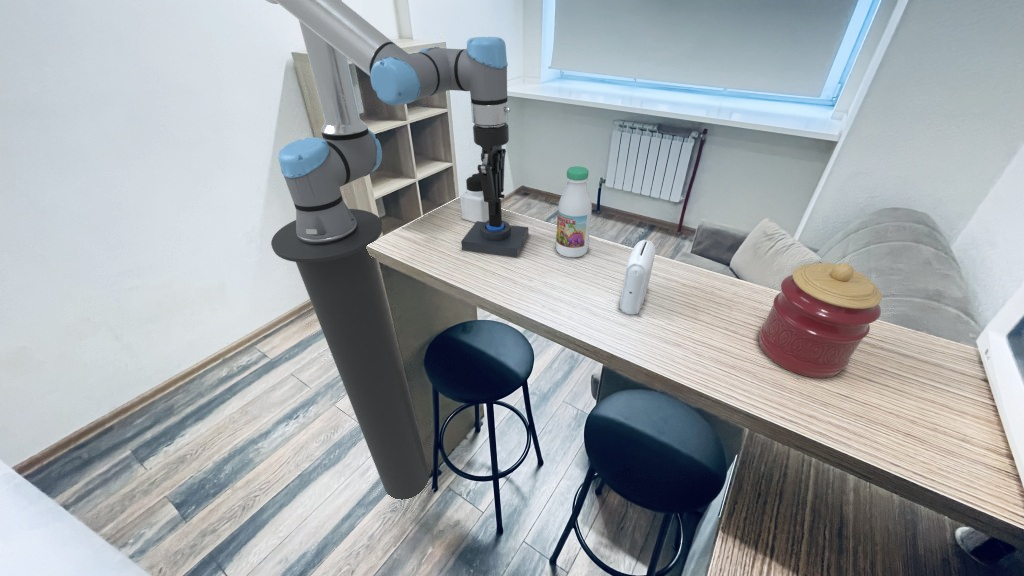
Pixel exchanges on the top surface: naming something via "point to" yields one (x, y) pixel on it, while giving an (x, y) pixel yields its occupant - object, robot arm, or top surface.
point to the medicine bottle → (474, 200)
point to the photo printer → (637, 277)
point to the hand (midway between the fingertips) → (495, 224)
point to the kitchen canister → (820, 318)
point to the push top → (494, 228)
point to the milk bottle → (574, 215)
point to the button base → (495, 239)
